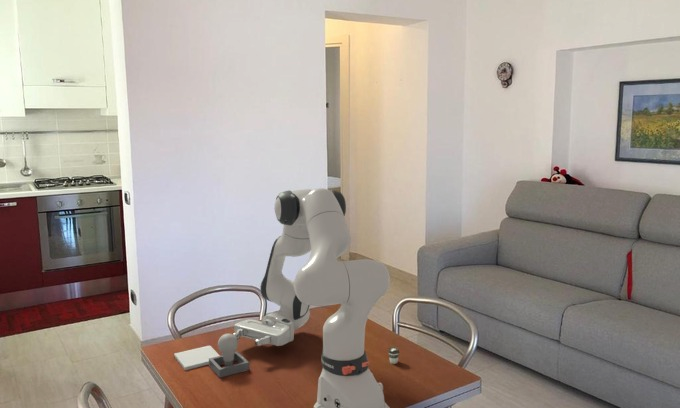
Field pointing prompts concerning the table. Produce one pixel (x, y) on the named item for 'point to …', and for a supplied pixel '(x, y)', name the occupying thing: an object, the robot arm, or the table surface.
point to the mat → (195, 357)
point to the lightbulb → (228, 348)
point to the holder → (229, 370)
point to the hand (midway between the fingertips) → (245, 340)
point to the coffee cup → (393, 355)
